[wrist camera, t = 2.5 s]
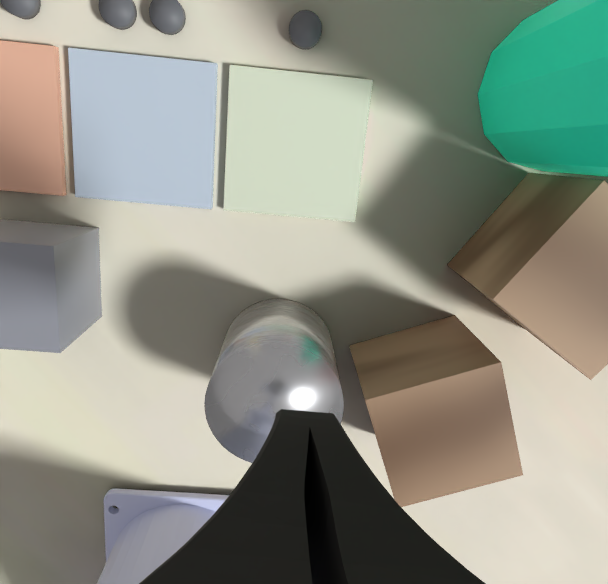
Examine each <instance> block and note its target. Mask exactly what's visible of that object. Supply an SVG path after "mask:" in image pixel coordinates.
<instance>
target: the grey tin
mask: <svg viewBox="0 0 608 584" xmlns="http://www.w3.org/2000/svg"><path fill="white" fill-rule="evenodd" d="M281 409H286V410H298V411H310V412H323V413H333V414H334V415H335V416H336V418H337V419H338V421H339V423H341V421H342V416H343V410H344V401H343V393H342V388H341V384H340V379H339V374H338V369H337V364H336V359H335V355H334V350H333V345H332V340H331V336H330V333H329V331H328V328H327V327H326V325H325V323H324V322H323V320H322V319H321V318H320V317H319V316H318V315H317V314H316V313H315V312H314V311H313V310H311V309H310V308H308V307H307V306H305V305H303V304H300V303H298V302H295V301H291V300H286V299H270V300H265V301H261V302H258V303H255V304H253V305H251V306H249V307H248V308H246V309H245V310H243V311H242V312H241V313H240V314H239V315H238V316H237V317H236V318H235V319H234V321H233V322H232V324H231V325H230V327H229V329H228V331H227V334H226V337H225V339H224V342H223V345H222V348H221V351H220V353H219V356H218V359H217V362H216V365H215V367H214V370H213V373H212V376H211V379H210V381H209V384H208V387H207V391H206V395H205V414H206V419H207V422H208V425H209V427H210V429H211V431H212V433H213V435H214V436H215V437H216V439H217V440H218V441H219V442H220V444H221V445H222V446H223V447H224V448H226V449H227V450H228V451H229V452H231V453H232V454H234V455H235V456H237V457H239V458H241V459H243V460H245V461H248V462H251V463H253V462H254V460H255V458H256V457H257V455H258V453H259V451H260V450H261V448H262V446H263V444H264V443H265V441H266V439H267V437H268V435H269V433H270V431H271V428H272V426H273V423H274V420H275V416H276V413H277V412H278V411H279V410H281Z"/></svg>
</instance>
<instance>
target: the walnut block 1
mask: <svg viewBox="0 0 608 584" xmlns="http://www.w3.org/2000/svg"><path fill="white" fill-rule="evenodd" d="M349 347H350V350H351V354H352V357H353V361H354V364H355V367H356V371H357V374H358V378H359V381H360V385H361V388H362V391H363V395H364V398H365V402H366V405H367V408H368V412H369V415H370V418H371V422H372V425H373V428H374V432H375V435H376V439H377V442H378V445H379V449H380V452H381V455H382V459H383V462H384V465H385V469H386V472H387V475H388V479H389V482H390V486H391V489H392V492H393V496H394V499H395V501H396V502H397V503H398V505H399V506H400V507H403V506H407V505H411V504H415V503H419V502H422V501H426V500H430V499H434V498H438V497H441V496H445V495H449V494H453V493H457V492H460V491H464V490H468V489H472V488H476V487H479V486H483V485H487V484H491V483H495V482H498V481H502V480H506V479H510V478H514V477H517V476H521V475H523V473H522V468H521V462H520V457H519V452H518V447H517V442H516V437H515V431H514V426H513V421H512V416H511V411H510V406H509V400H508V395H507V390H506V385H505V380H504V374H503V369H502V364H501V362H500V361H499V360H498V359H497V358H496V357H495V355H494V354H493V353H492V352H491V351H490V350H489V349H488V348H487V347H486V346H485V345H484V344H483V343H482V342H481V341H480V340H479V339H478V338H477V337H476V336H475V335H474V334H473V333H472V332H471V331H470V330H469V329H468V328H467V327H466V326H465V325H464V324H463V323H462V322H461V321H460V320H459V319H458V318H457V317H456V316H455V315H453V316H450V317H446V318H443V319H439V320H436V321H433V322H429V323H426V324H422V325H419V326H415V327H412V328H408V329H405V330H401V331H398V332H394V333H391V334H387V335H384V336H380V337H377V338H373V339H370V340H366V341H363V342H359V343H356V344H352V345H349Z"/></svg>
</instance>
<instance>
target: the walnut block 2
mask: <svg viewBox="0 0 608 584" xmlns="http://www.w3.org/2000/svg"><path fill="white" fill-rule="evenodd" d="M447 265H448V266H449V267H450V268H451V269H452V270H454V271H455V272H456V273H457V274H459V275H460V276H461V277H462V278H463V279H465V280H466V281H467V282H468V283H470V284H471V285H472V286H473V287H474V288H476V289H477V290H478V291H479V292H480V293H482V294H483V295H484V296H485V297H487V298H488V299H489V300H490V301H491V302H493V303H494V304H495V305H496V306H498V307H499V308H500V309H501V310H502V311H504V312H505V313H506V314H507V315H509V316H510V317H511V318H512V319H513V320H515V321H516V322H517V323H518V324H520V325H521V326H522V327H523V328H524V329H526V330H527V331H528V332H530V333H531V334H532V335H533V336H535V337H536V338H537V339H539V340H540V341H541V342H542V343H544V344H545V345H546V346H548V347H549V348H550V349H551V350H553V351H554V352H555V353H557V354H558V355H559V356H561V357H562V358H563V359H564V360H566V361H567V362H568V363H570V364H571V365H572V366H573V367H575V368H576V369H577V370H579V371H580V372H581V373H582V374H584V375H585V376H586V377H588V378H589V379H590V380H591V379H592V378H593V377H594V376H595V375H597V374H598V373H599V372H600V371H601V370H602V369H603V368H604V367H605V366H606V365H607V364H608V183H607V182H605V181H604V180H596V179H586V178H576V177H566V176H556V175H546V174H536V173H528V174H527V175H526V176H525V178H524V179H523V180H522V181H521V182H520V183H519V184H518V185H517V187H516V188H515V189H514V190H513V191H512V192H511V193H510V194H509V196H508V197H507V198H506V199H505V200H504V201H503V202H502V203H501V205H500V206H499V207H498V208H497V209H496V210H495V211H494V213H493V214H492V215H491V216H490V217H489V218H488V219H487V220H486V222H485V223H484V224H483V225H482V226H481V227H480V228H479V229H478V231H477V232H476V233H475V234H474V235H473V236H472V237H471V238H470V240H469V241H468V242H467V243H466V244H465V245H464V246H463V248H462V249H461V250H460V251H459V252H458V253H457V254H456V255H455V257H454V258H453V259H452V260H451V261H450V262H449V263H448V264H447Z"/></svg>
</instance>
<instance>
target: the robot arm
mask: <svg viewBox="0 0 608 584" xmlns="http://www.w3.org/2000/svg"><path fill="white" fill-rule="evenodd" d="M112 506H117V507H118V508H114V507H112ZM104 525H105V550H106V564H105V566H104V569H103V571H102V573H101V575H100V577H99V580H98V582H97V584H485V583H484V582H483V581H481V580H480V579H479V578H478V577H476V576H475V575H474V574H472V573H471V572H470V571H469V570H467V569H466V568H465V567H464V566H463V565H461V564H460V563H459V562H458V561H457V560H456V559H455V558H453V557H452V556H451V555H450V554H449V553H448V552H446V551H445V550H444V549H443V548H442V547H441V546H439V545H438V544H437V543H436V542H435V541H434V540H433V539H432V538H431V537H430V536H429V535H428V534H427V533H426V532H424V530H423V529H422V528H421V527H420V526H419V525H418V524H417V523H416V522H415V521H414V520H413V519H412V518H411V517H410V516H409V515H408V514H407V513H406V512H405V511H404V510H403V509H402V508H401V507H400V506H399V505H398V503H397V502H396V501H395V500H394V499H393V498H392V496H391V495H390V494H389V493H388V491H387V490H386V489H385V488H384V487H383V485H382V484H381V483H380V482H379V480H378V479H377V478H376V476H375V475H374V474H373V472H372V471H371V470H370V468H369V467H368V465H367V464H366V463H365V461H364V460H363V458H362V457H361V456H360V454H359V453H358V451H357V450H356V448H355V447H354V445H353V444H352V442H351V441H350V439H349V437H348V436H347V434H346V433H345V431H344V429H343V428H342V426H341V424H340V423H339V421H338V419H337V418H336V416H335V415H334V414H333V413H323V412H310V411H298V410H286V409H281V410H279V411H278V412H277V413H276V416H275V420H274V423H273V426H272V428H271V431H270V433H269V435H268V437H267V439H266V441H265V443H264V444H263V446H262V448H261V450H260V451H259V453H258V455H257V457H256V458H255V460H254V462H253V463H252V465H251V466H250V468H249V469H248V470H247V472H246V473H245V475H244V476H243V478H242V479H241V481H240V482H239V483H238V485H237V486H236V488H235V489H234V490H233V491H232V493H231V494H230V495H216V494H200V493H183V492H167V491H150V490H133V489H117V488H115V489H111V490H109V491H108V492H107V493H106V495H105V497H104Z"/></svg>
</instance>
